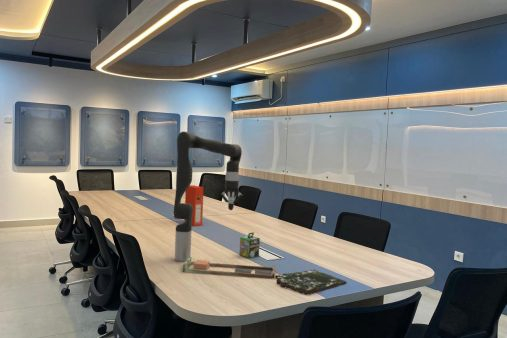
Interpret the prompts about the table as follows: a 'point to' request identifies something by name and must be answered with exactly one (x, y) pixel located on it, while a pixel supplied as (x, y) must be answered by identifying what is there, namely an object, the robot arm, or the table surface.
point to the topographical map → (308, 281)
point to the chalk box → (249, 246)
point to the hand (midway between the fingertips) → (230, 209)
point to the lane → (239, 271)
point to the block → (201, 265)
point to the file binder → (195, 203)
